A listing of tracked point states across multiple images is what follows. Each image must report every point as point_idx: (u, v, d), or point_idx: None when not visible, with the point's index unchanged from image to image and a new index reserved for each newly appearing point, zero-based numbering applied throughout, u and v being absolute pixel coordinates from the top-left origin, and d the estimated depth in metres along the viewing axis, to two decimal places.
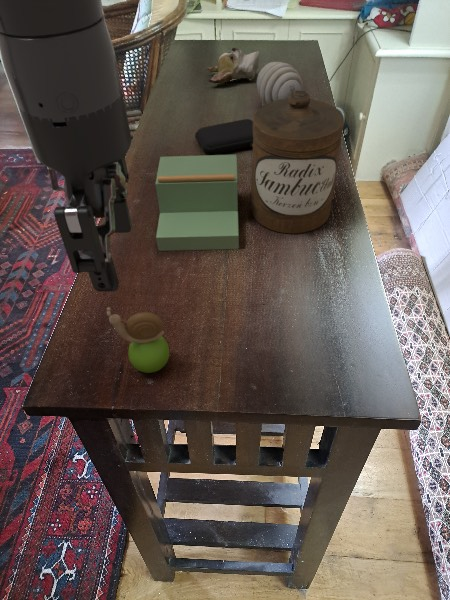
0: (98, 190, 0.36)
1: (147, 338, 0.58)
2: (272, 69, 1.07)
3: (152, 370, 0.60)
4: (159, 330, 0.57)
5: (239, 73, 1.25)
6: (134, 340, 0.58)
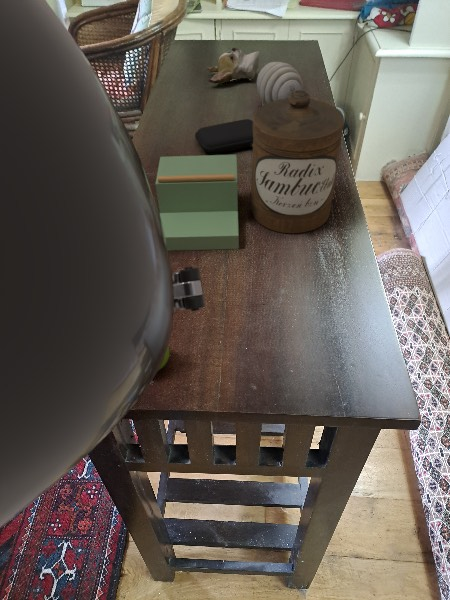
0: None
1: None
2: (272, 69, 1.07)
3: None
4: None
5: (239, 73, 1.25)
6: None
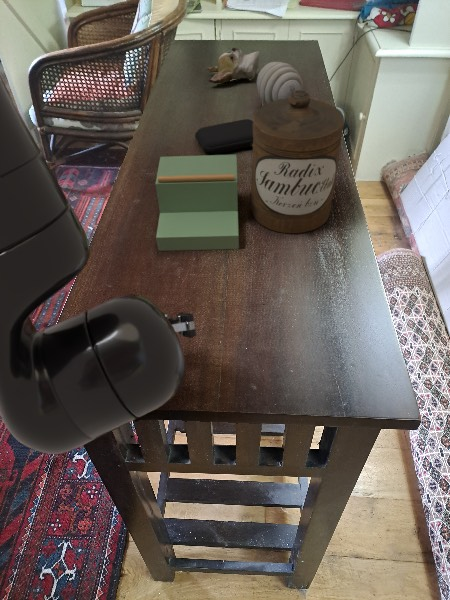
0: None
1: None
2: (272, 69, 1.07)
3: None
4: None
5: (239, 73, 1.25)
6: None
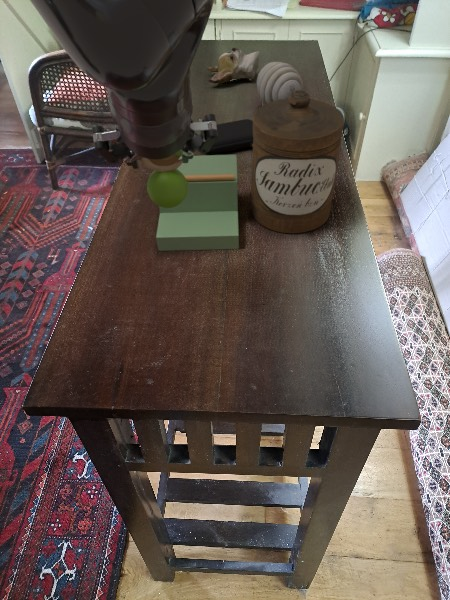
0: None
1: (166, 165, 0.58)
2: (272, 69, 1.07)
3: (171, 201, 0.60)
4: None
5: (239, 73, 1.25)
6: (154, 167, 0.58)
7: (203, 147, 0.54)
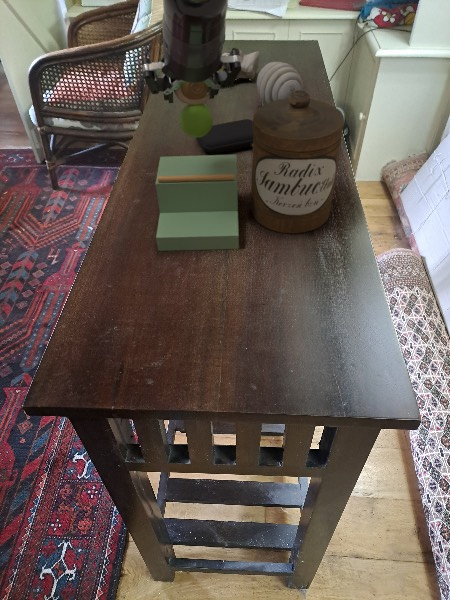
0: None
1: (196, 99, 0.71)
2: (272, 69, 1.07)
3: (200, 130, 0.73)
4: (207, 89, 0.70)
5: (239, 73, 1.25)
6: (186, 100, 0.71)
7: (228, 80, 0.67)
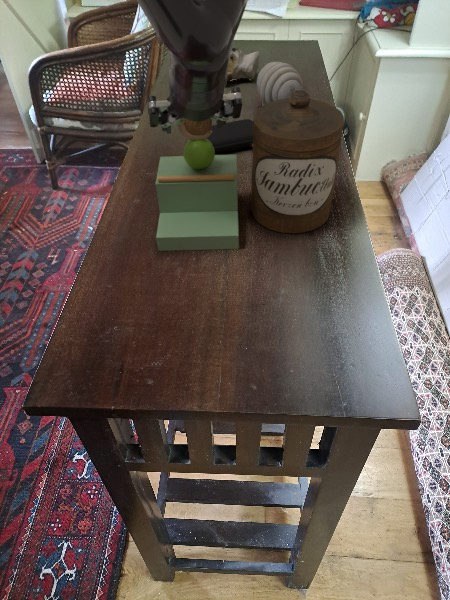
0: None
1: (199, 134, 0.76)
2: (272, 69, 1.07)
3: (202, 163, 0.78)
4: (209, 126, 0.75)
5: (239, 73, 1.25)
6: (190, 136, 0.76)
7: (234, 113, 0.71)
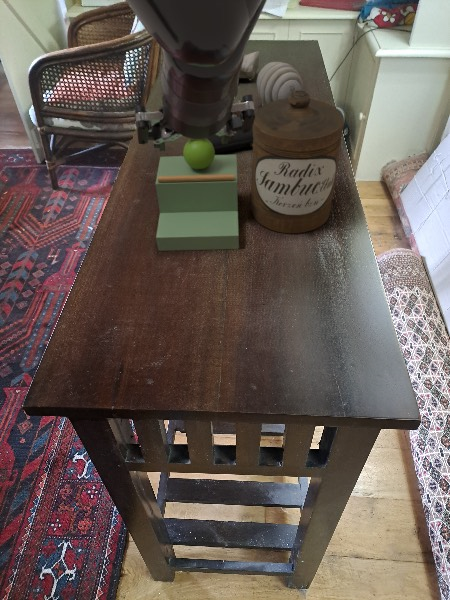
0: None
1: None
2: (272, 69, 1.07)
3: (202, 163, 0.78)
4: None
5: None
6: None
7: (244, 127, 0.56)
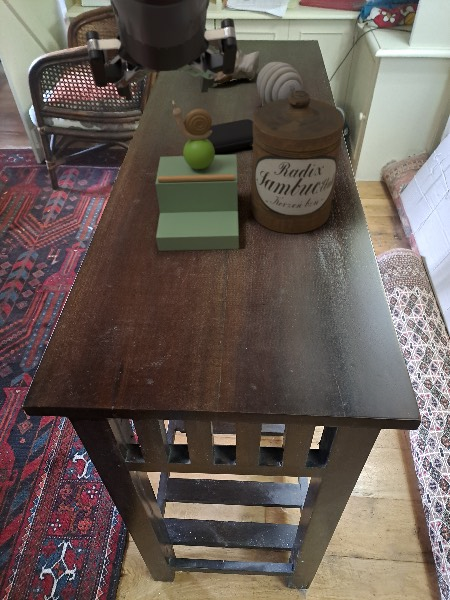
0: None
1: (199, 134, 0.76)
2: (272, 69, 1.07)
3: (202, 163, 0.78)
4: (209, 126, 0.75)
5: (239, 73, 1.25)
6: (190, 136, 0.76)
7: (225, 65, 0.46)
